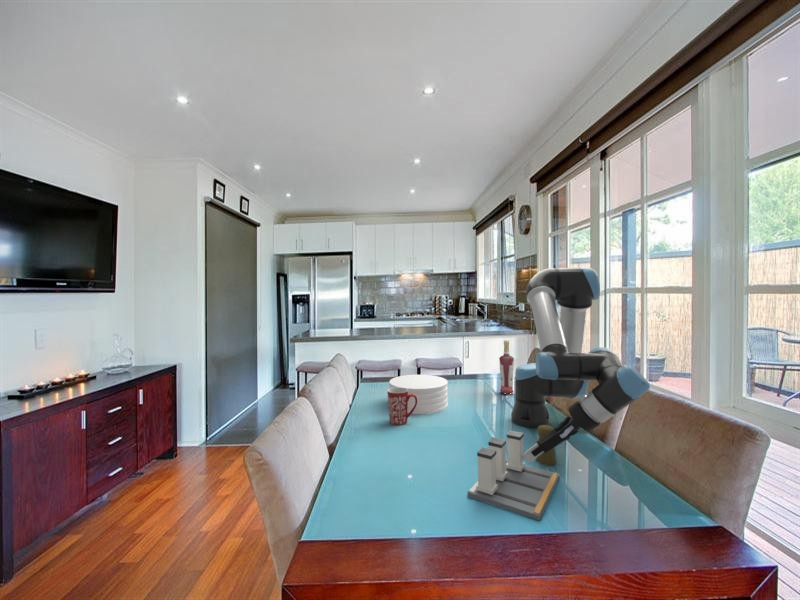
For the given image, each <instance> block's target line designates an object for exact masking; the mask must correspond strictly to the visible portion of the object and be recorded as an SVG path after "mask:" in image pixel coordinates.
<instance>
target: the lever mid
mask: <svg viewBox="0 0 800 600" xmlns="http://www.w3.org/2000/svg"><path fill="white" fill-rule="evenodd" d="M487 443H488V449H491V450H496V480H500V481H504V479H505V478H506V477H507V475H508V472H507V471H506V459H507V457H506V455H507V454H506V452H507V449H506V445H507V440H506V439H502V438H497V437H493V436H492V437H491V439H490V440H489V441H488V442H487Z"/></svg>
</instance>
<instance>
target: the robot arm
mask: <svg viewBox="0 0 800 600" xmlns="http://www.w3.org/2000/svg"><path fill="white" fill-rule="evenodd" d="M599 279H600V278H599V277H598V273H597V272H596V270H595V269H593V268H591V267H582V266H581V267H580V266H579V267H560V268H559V267H558V268H556V267H555V268H553V267H550V268H545V269H542V270H540V271H539V272H537V273H536V274H534V275H533V277H531V279H530V280H529V281H528V283H527V286H526V289H525V297H526V301H527V303H528V304H529V306H530V307H531V312H532V316H533V321H534V326H535V330H536V334H537V340H538V343H539V349H540V352H537V353H536V355H535V363H534V362H532V363H525V364H521V365H519V366H517V367H516V369H515V373H514V374H515V376H514V380H515V388H514V389H515V391H514V392H515V393H514V394H515V400H514V401H515V402H514V404H513V408H512V411H511V414H510V415H511V416H510V418H511V421H512V422H513V423H514V424H516V425H518V426H522V427H527V428H535V429H538V427H539V426H541V425H548V426H551V416H550V414H549V410H548V408H547V405H546V398H561V399H562V398H565V399H580V400H576V401H575V402H574V403H572V405H570V406H568V413H569V415H570V416H567V417H565V418H564V419H563V420H562V421H561V422H560V423H559V424H558V425H557V426H555V427H553V428H554V429H553V430H552V431H551V432H549V433H548V434H547V435H546V436H544V437H543V439H541V442H540V441H539V439H537V441H535V442H536V443H535V444H534V445H532V446H531V447H529V448H528V449H527V450H526V451H523V454H522V456H523V460H525V461H526V462H527V464H530V463H532V462H533V461H534V460H536V458H537V457H538V456H540V455H541V454H542V453H547V452H548V451H549V450H551V449H552V448H554V447H555V448H556V447H557V446H559V445H560V444H562V443H563V442H566V441H567V440H569V439H570V438H571V437H572V436H574V435H576V434H577V433H579V430H580V429H583V430H584V431H585V432H592V431H593V430H594V429H597V427H599V426H600V425H601V424H604V423H605V422H606V421H608V420H609V419H611V418H612V417H614V416H616V414H617V413H619V412H620V411H621V410H623V409H624V408H626V407H628V406H629V405H630V404H632V403H634V402H635V401H637V400H639V399H640V397H641V396H643V395H644V394H646V393H647V392H648V391H649V390H650V388H651V385H650V383H649V381H648V380H647V379H646V378H645V377H644V376H643V374H641V372H639V371H638V370H637V369H636V368H635V367H634V366H632V365H631V364H623V363H622V362H621V360H620V358H619V357H618V355H617V354H615V353H614V351H612V350H611V349H610V348H608V347H603V346H599V347H596V348H593V349H591V350H590V351H589V352H588V353H586V352H584V353H582V351H583V342H584V333H585V326H586V319H587V318H586V315H587V310H588V309H590V308H591V307H592V306H593V305H592V304H593V301H597V300H598V299H599V297H600V295H601V286H600V285H601V284H600V280H599ZM555 301H556V303H555ZM556 304H557V305H558V306H559V307H560V315H559V314H558V310H557V307H556ZM590 381H592V382H593V381H595V382H598V385H596V386H595V387H594V388H592V390H590V392H589V391H588V387H589V382H590Z"/></svg>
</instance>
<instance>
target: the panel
mask: <svg viewBox="0 0 800 600" xmlns="http://www.w3.org/2000/svg"><path fill="white" fill-rule="evenodd" d="M507 462H508V459H507V460H506V464H507ZM506 471H507V472H508V475H507V477H506V478H505V479H504V481H500V480H496V484H498V489H497V490H496V491H495V493H494V494H493V495H490V494H487V493H484V492H481V491H478V490H476V486H477V485H478V480H476V481H475V483H474V484H473V485H472V486H471V487H470V488H469V490H468V491H467V497H468V498H470V499H473V500H476V501H480V502H483V503H485V504H489V505H491V506H495V507H498V508H501V509H504V510H507V511H510V512H513V513H514V514H515V513H516V514H517V515H521V516H523V517H527V518H531V519H533V520H536V521H539V522H540V521H541V518H542V516H543V514H544V512H545V510H546V508H547V506H548V503H549V501H550V500H551V499H550V498H551V497H552V495H553V493H554V491H555V489H556V486H557V484H558V482H559V480H560V473H556V472H553V471H548V470H544V469H541V468H537V467H533V466H529V465H526V464H525V467H524V468H523V470H522V471H521V472H520V471H516V470H512V469H509V468H506Z"/></svg>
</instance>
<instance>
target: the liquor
mask: <svg viewBox="0 0 800 600" xmlns="http://www.w3.org/2000/svg"><path fill="white" fill-rule="evenodd" d="M509 346H510V340H503V347H504V348H503V355H501V356H500V357H498V359H499V372H500V390H499V392H500V393H501V394H503V393H506V394H510V393H512V394H513V393H514V392H515V391H514V387H513V385H514V366H515V365H514V364H515V363H514V360H515V359H514V357H513V356H512V355H510V347H509ZM510 395H511V394H510Z"/></svg>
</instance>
